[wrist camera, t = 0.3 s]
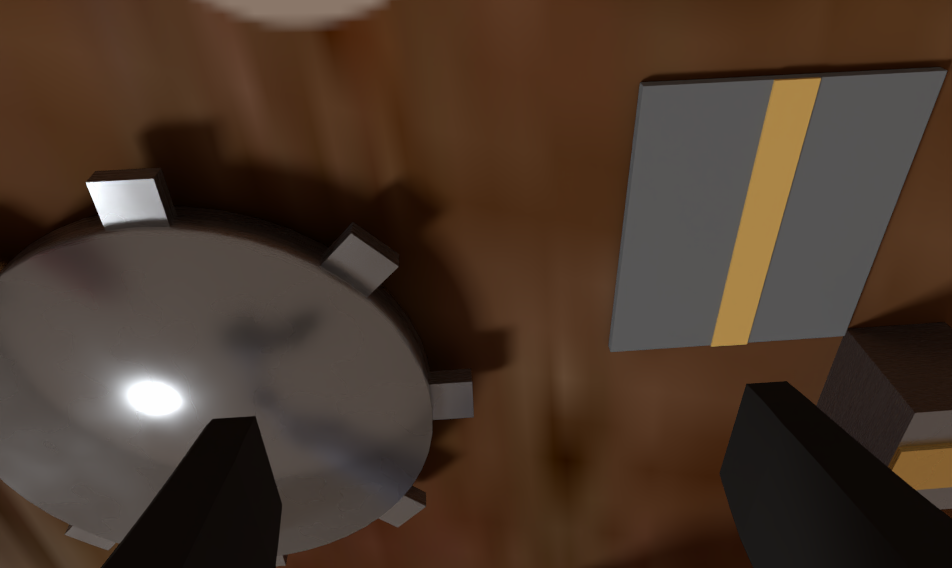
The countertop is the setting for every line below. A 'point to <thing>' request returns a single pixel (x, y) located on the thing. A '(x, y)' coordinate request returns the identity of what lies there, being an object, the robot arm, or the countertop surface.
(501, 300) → the countertop surface
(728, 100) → the pad
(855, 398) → the link
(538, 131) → the countertop surface
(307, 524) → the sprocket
